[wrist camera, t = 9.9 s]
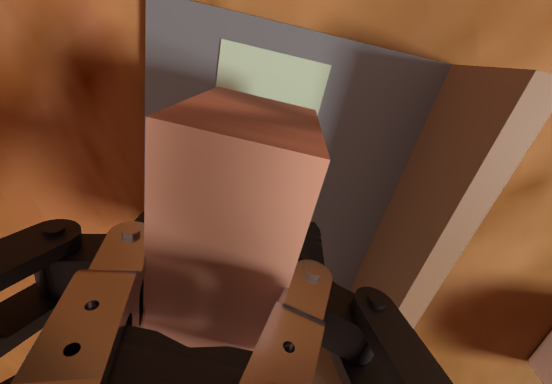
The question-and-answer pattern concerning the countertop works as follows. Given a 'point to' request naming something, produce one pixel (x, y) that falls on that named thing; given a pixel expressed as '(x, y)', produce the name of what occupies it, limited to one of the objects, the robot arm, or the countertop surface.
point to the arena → (365, 137)
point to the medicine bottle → (543, 360)
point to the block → (226, 212)
